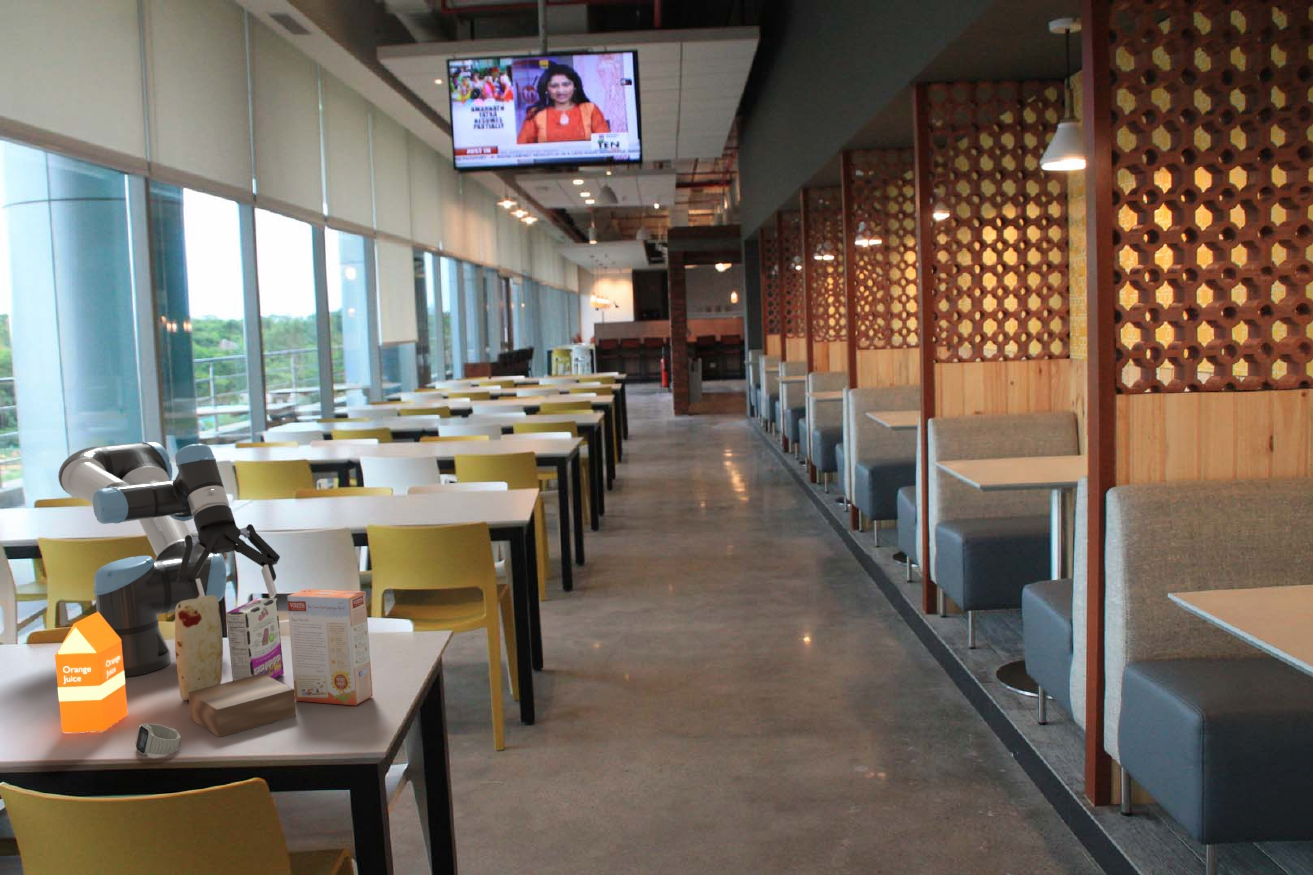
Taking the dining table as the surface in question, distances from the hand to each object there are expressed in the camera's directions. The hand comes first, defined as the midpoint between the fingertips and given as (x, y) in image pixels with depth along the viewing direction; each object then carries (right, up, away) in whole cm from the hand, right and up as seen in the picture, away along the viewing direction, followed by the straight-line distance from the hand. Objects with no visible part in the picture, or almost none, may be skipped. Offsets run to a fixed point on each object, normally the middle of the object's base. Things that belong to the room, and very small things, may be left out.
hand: (240, 603), depth 213 cm
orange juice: (-19, -19, -20) cm, 33 cm away
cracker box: (+23, -17, -11) cm, 30 cm away
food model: (-5, -17, -7) cm, 19 cm away
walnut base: (+8, -18, -19) cm, 28 cm away
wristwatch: (-1, -20, -33) cm, 39 cm away
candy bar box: (+4, -17, 0) cm, 17 cm away
